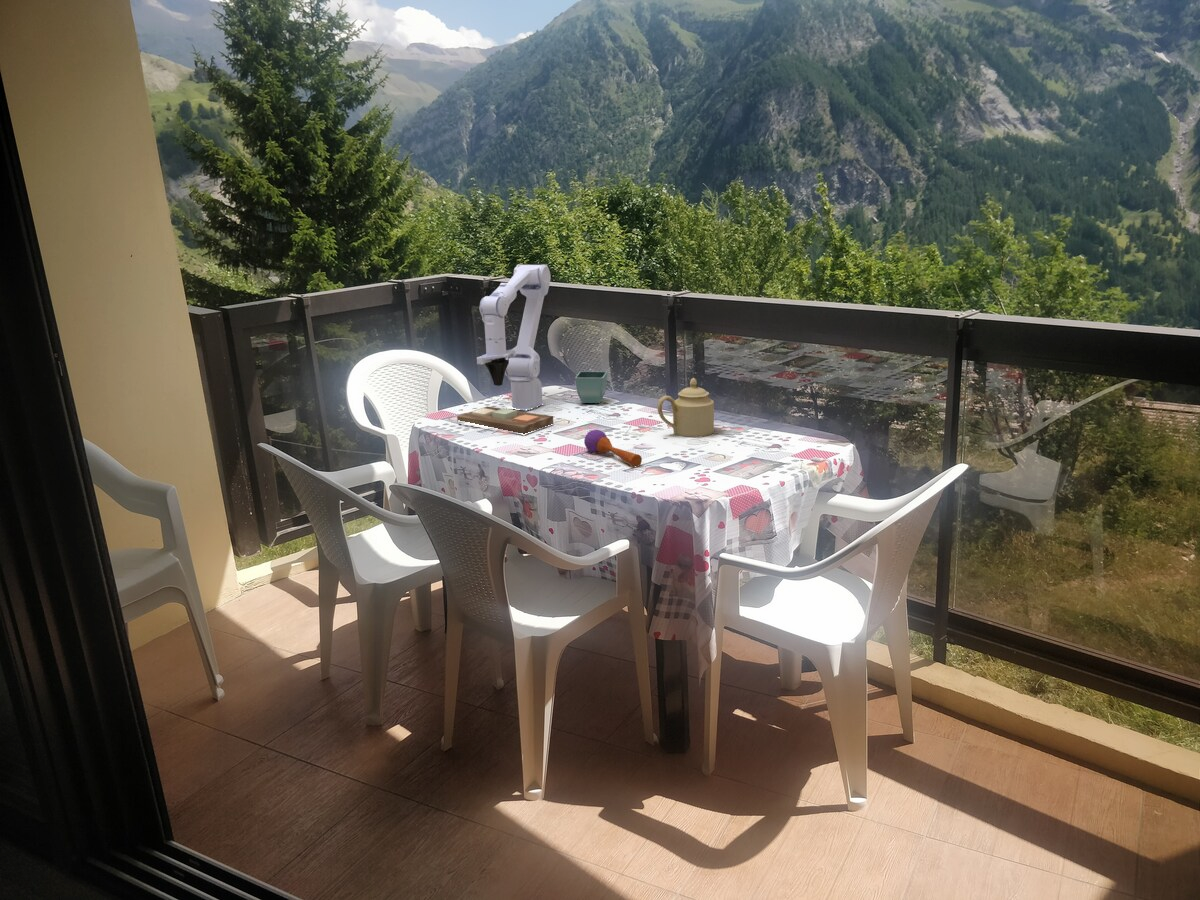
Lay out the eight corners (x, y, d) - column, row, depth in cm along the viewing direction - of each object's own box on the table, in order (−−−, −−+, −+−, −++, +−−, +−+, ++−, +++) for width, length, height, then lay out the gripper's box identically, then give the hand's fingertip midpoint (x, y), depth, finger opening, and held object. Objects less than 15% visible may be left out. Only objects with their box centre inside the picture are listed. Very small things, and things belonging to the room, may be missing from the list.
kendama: (625, 454, 228) (578, 431, 243) (628, 476, 231) (581, 452, 246) (644, 445, 231) (597, 423, 246) (647, 467, 234) (600, 444, 249)
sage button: (504, 416, 276) (503, 408, 276) (517, 418, 274) (516, 410, 273) (492, 420, 273) (491, 412, 272) (505, 422, 270) (505, 414, 269)
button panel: (488, 414, 286) (487, 406, 285) (553, 424, 272) (553, 416, 271) (457, 424, 276) (457, 416, 275) (524, 435, 261) (523, 426, 261)
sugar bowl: (687, 443, 249) (687, 386, 245) (655, 436, 256) (654, 381, 252) (722, 430, 259) (722, 376, 255) (690, 424, 267) (689, 371, 262)
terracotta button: (525, 423, 272) (524, 414, 272) (539, 425, 269) (538, 416, 269) (514, 427, 268) (513, 418, 268) (527, 429, 266) (527, 420, 265)
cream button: (483, 416, 281) (483, 408, 281) (496, 418, 278) (495, 410, 278) (472, 420, 277) (471, 411, 277) (485, 422, 275) (484, 414, 274)
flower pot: (604, 406, 290) (603, 377, 288) (575, 406, 292) (574, 377, 289) (608, 399, 299) (607, 371, 296) (580, 399, 300) (579, 371, 297)
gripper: (488, 343, 265) (491, 391, 268) (522, 335, 276) (524, 381, 279) (470, 341, 269) (473, 388, 272) (504, 334, 280) (506, 379, 283)
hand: (498, 385), depth 276 cm, fingers closed
